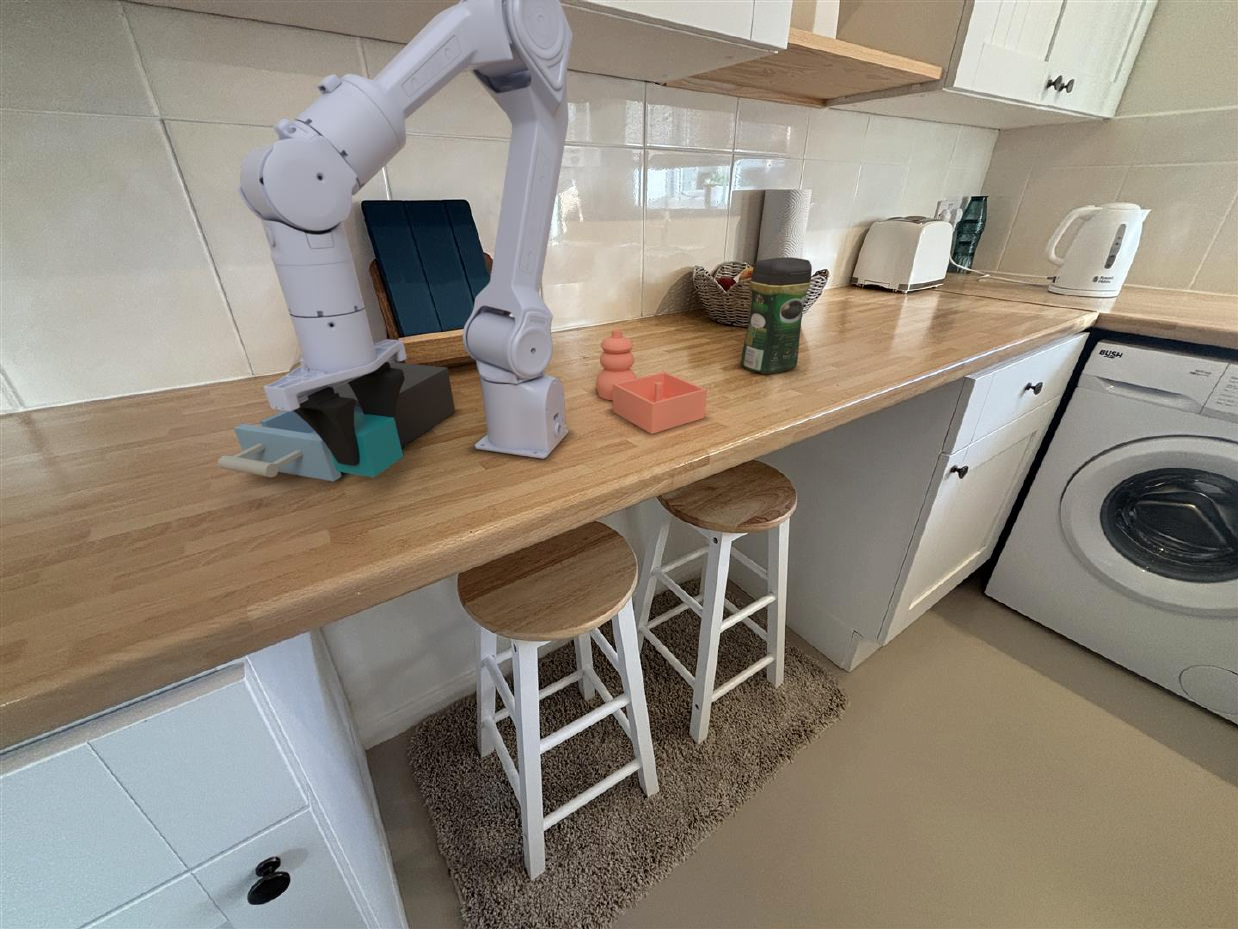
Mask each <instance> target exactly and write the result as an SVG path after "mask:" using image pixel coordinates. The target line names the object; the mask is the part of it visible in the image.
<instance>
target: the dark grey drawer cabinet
mask: <svg viewBox="0 0 1238 929" xmlns="http://www.w3.org/2000/svg"><path fill="white" fill-rule="evenodd" d="M390 367H391V368H396V369H401V370H403V373H404V377H405V380H404V382H403V384H402V387H401V390H400V393H399V397H398V401H397V406H396V415H395V424H396V428H397V432H398V436H399V441H400V445H401V449H403V448H404V447H406V446H407V445H410V443H412V442H413V441H415V440H416V439H418V438H419V437H421V436H423V435H424V434H425V433H426V432H428V431H430V430H431V429H433V428H434V427H436V426H437V425H438V424H440V423H441V422H443V421H444V420H446V419H447V418H449V417H450V416H452V415H454V414H455V413H456V409H455V403H454V396H453V390H452V385H451V379H450V374H449V368H448V367H444V366H436V365H435V366H434V365H426V364H425V365H424V364H416V363H407V362H397V361H394V362H392V363H390ZM334 393H339V396H340V397H345V398H353V399H355V400H356V402H355V406H357V407H361V406H360V404H359V402H358V400H357V398H356V396H355V394H354V392H353V390H352V389H351V387H350V385H349V384H348V382H347V383H345V384H343V385H341V386H338V387H336V388H334Z"/></svg>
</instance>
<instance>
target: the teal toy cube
mask: <svg viewBox="0 0 1238 929" xmlns="http://www.w3.org/2000/svg"><path fill="white" fill-rule="evenodd" d="M354 427H355V435H356V439H357V443H358V447H359V454H360V463H359V464H357V465H356V466H352V465H345V464H339V463H338V462H337V461H336V459H335V457H334V456H333V454H332V453H331V451H330V453H331V456H332V459H333V462H334V465H335V468H336V471H339V472H340V473H345V474H351V475H357V476H363V477H369V478H376V477H378V475H380V474H382V473H383V472H384V471H386V470H387V469H388V468H390V467H391V466H392V465H394V464H395V463H397V462H398V461H400V460H402V458H404V454H403V450H402V449H403V448H401V445H400V441H399V436H398V432H397V428H396V424H395V420H394V418H392V417H384V416H377V415H369V414H362V413H356V414H354Z"/></svg>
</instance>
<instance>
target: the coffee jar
mask: <svg viewBox="0 0 1238 929" xmlns="http://www.w3.org/2000/svg"><path fill="white" fill-rule="evenodd" d="M812 271H813V266H812V264H811V261H810V260H808V259H804V258H799V257H793V256H792V257H791V256H789V257H787V256H785V257H774V258H767V259H766V258H765V259H759V260H757V261H756V262H755V263H754V265H753V267H752V273H751V278H750V281H749V284H750V290H751V306H750V311H749V318H748V323H747V328H746V332H745V333H746V334H745V338H744V342H743V345H742V346H743V347H742V351H741V359H740V364H741V366H742V367H743V368H744V369H746V370H747V371H749V372H752V373H760V374H763V375H770V374H775V373H783V372H787V371H791V370H794V369H795V368H796V367H797V366H798V360H799V350H800V337H801V327H802V320H803V310H804V306H805V301H806V298H807V294H808V292H809V289H810V287H811V283H812V282H811V281H812V273H813V272H812Z"/></svg>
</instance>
